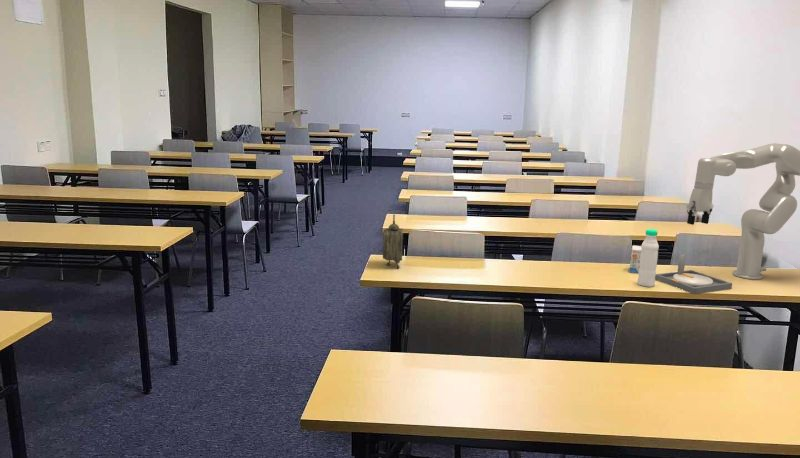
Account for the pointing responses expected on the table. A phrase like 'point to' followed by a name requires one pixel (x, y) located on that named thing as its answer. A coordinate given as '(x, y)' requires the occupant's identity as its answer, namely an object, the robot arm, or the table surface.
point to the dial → (690, 275)
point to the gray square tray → (716, 286)
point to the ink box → (635, 259)
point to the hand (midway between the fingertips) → (697, 223)
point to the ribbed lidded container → (392, 243)
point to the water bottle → (648, 259)
